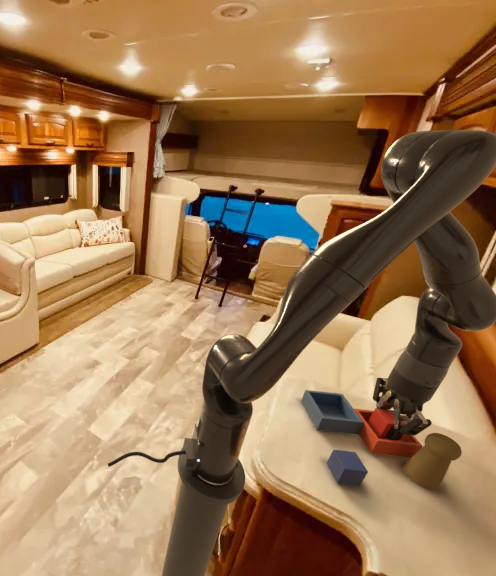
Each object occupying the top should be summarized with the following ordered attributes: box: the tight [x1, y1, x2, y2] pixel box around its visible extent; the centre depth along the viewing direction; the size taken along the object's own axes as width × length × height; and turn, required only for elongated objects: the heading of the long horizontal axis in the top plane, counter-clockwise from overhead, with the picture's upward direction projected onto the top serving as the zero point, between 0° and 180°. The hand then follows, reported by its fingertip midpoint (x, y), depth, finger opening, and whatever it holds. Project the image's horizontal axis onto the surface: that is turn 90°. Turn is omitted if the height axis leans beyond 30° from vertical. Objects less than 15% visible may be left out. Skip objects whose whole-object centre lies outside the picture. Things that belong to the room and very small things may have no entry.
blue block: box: [326, 449, 369, 487], centre depth 67 cm, size 4×4×4 cm
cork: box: [402, 432, 463, 491], centre depth 66 cm, size 6×6×11 cm
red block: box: [368, 407, 404, 439], centre depth 74 cm, size 4×4×4 cm
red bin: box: [353, 408, 424, 459], centre depth 75 cm, size 9×9×4 cm
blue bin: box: [300, 389, 364, 436], centre depth 81 cm, size 9×9×4 cm
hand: (384, 429), depth 75 cm, fingers closed on red block, 4 cm apart
